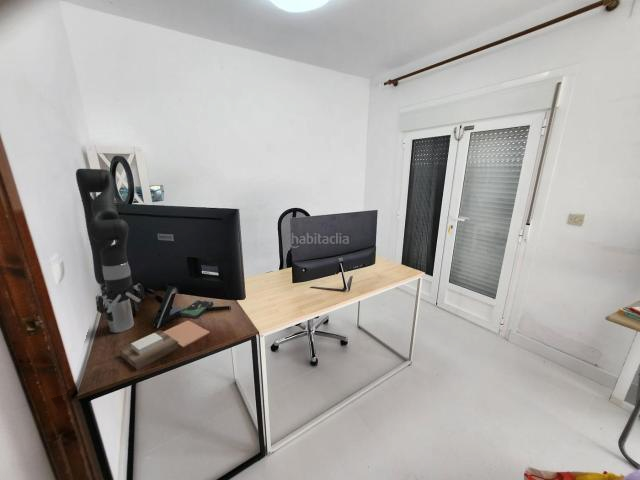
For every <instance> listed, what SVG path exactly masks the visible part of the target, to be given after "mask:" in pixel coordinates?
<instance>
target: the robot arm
mask: <svg viewBox="0 0 640 480" xmlns="http://www.w3.org/2000/svg"><path fill="white" fill-rule="evenodd" d="M75 179H76V184H77V187H78V191H79V195H80V199H81V202H82V208H83V211H84V217H85V225H86V232H87V237H88V241H89V244H90V249H91V250H90V251H91V254H92V265H93V272H94V277H95V281H96V283H97V284H98V285H105V290H104V291H103V292H102V295H99V294H98V295H96V296H95V306H96V311H97V312H98V313H99V314H104V313H105V319H106V320H107V321H108V326H109V331H110V333H122V332H126V331H128V330H129V329H132V327H134V325H135V323H134V317H133V311H132V305H131V299H132V300H133V305H134V310H135V311H136V312H139V311H141V309H142V306H141V305H142V304H141V301H142V300H144V299H145V298H146V293H145V289H144V286H143V284H142V283H139V282H138V283H136V284H135V285H133V279H132V273H131V272H132V270H131V267H130V265H129V261H128V256H127V241H128V236H129V231H130V228H129V224H128V223H127V221H125V220H124V219H121V218H119V213H118V212H119V211H118V209H117V206H116V193H115V192H116V191H115V190H116V189H115V183H114V177H113V174H112V173H111V171H110V170H107V169H102V168H78V169H76V170H75ZM91 193H99V194H98V195H97V196H96V197H94V199H93V196H92V195H91ZM116 240H117V241H116ZM115 241H116V242H115ZM114 242H115V243H114ZM113 243H114V244H113ZM135 290H136V291H137V294H138V296H136V295H134V294H133V293H134V292H135ZM130 298H131V299H130Z"/></svg>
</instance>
